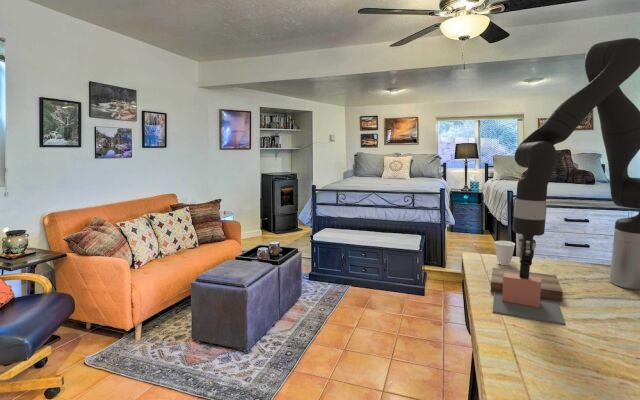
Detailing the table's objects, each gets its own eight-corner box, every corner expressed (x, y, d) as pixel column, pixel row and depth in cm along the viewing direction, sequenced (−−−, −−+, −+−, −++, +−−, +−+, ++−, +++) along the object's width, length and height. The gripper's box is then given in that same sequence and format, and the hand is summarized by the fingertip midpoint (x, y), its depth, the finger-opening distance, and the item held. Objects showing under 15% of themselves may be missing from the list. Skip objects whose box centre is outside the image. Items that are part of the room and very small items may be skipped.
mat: (494, 293, 106) (494, 291, 106) (557, 302, 98) (558, 301, 98) (492, 312, 93) (492, 311, 93) (565, 325, 86) (565, 323, 86)
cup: (489, 263, 132) (490, 242, 131) (501, 258, 138) (502, 238, 137) (509, 268, 127) (510, 246, 125) (520, 262, 133) (521, 241, 132)
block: (504, 272, 102) (503, 276, 99) (541, 278, 97) (541, 282, 94) (503, 295, 103) (501, 300, 99) (539, 302, 98) (539, 307, 95)
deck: (492, 276, 119) (492, 267, 119) (555, 284, 111) (556, 275, 111) (490, 291, 107) (491, 281, 107) (561, 301, 99) (562, 291, 98)
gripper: (548, 221, 88) (542, 287, 90) (543, 213, 100) (537, 272, 102) (514, 218, 91) (508, 282, 94) (513, 211, 103) (508, 268, 105)
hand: (523, 277), depth 98 cm, fingers closed
